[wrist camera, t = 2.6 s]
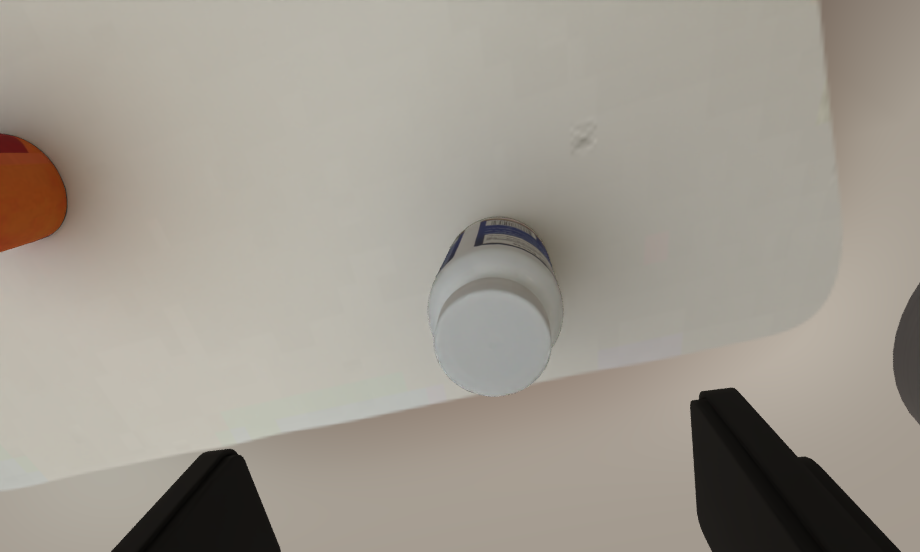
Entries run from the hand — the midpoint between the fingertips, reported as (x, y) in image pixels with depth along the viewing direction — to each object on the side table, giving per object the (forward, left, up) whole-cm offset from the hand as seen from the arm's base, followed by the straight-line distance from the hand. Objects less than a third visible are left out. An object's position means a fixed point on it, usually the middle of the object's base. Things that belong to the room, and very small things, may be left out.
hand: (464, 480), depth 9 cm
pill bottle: (0, 0, -16) cm, 16 cm away
